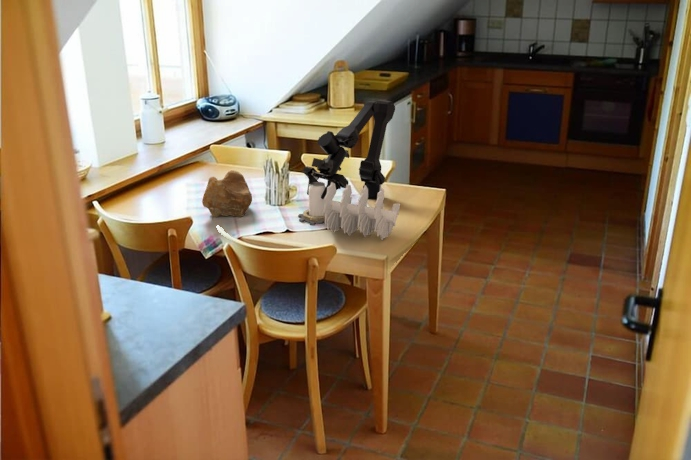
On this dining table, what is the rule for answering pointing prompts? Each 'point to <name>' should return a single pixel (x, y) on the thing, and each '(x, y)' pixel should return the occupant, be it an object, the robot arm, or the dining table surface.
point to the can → (316, 199)
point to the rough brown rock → (227, 195)
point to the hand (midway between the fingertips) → (314, 196)
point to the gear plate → (311, 218)
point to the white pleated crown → (358, 213)
